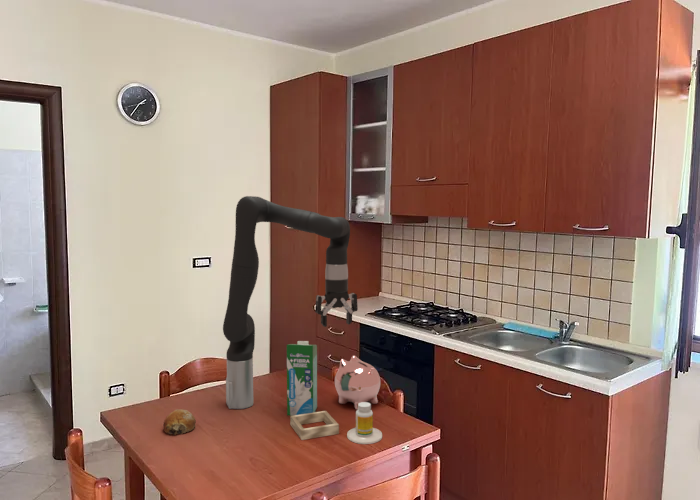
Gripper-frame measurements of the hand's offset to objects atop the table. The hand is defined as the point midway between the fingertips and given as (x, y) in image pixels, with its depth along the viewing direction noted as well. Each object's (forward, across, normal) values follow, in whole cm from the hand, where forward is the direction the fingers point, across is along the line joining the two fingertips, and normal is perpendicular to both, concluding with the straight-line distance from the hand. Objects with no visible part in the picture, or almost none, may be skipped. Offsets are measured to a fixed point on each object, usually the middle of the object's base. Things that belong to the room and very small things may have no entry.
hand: (336, 325), depth 186 cm
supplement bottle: (+32, -3, +17) cm, 36 cm away
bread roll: (+32, +50, -10) cm, 61 cm away
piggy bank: (+32, -12, -11) cm, 36 cm away
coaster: (+32, -3, +17) cm, 36 cm away
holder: (+32, +10, +6) cm, 34 cm away
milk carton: (+32, +9, -10) cm, 35 cm away
